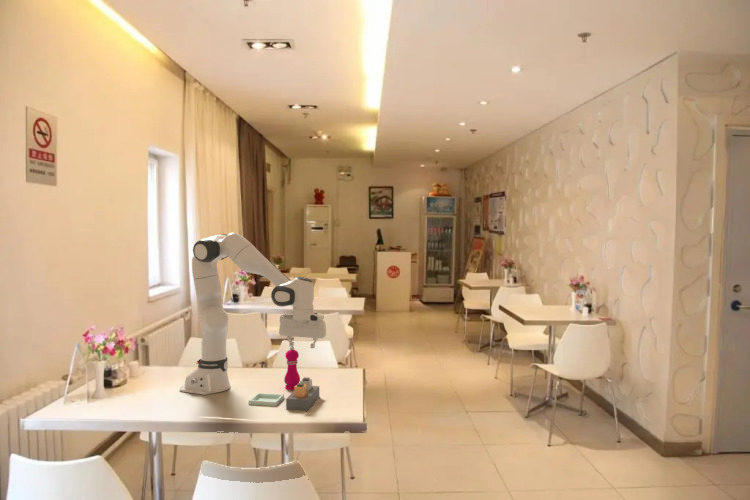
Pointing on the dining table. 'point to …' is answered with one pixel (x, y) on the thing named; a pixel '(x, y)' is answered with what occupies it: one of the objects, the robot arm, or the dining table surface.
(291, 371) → the pepper mill
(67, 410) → the dining table surface
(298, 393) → the plug
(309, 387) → the twin plug
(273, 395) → the tray
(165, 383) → the dining table surface
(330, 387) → the dining table surface
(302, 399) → the socket strip
